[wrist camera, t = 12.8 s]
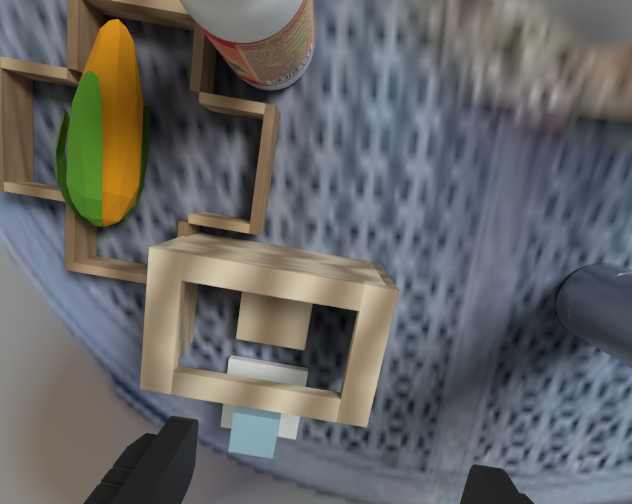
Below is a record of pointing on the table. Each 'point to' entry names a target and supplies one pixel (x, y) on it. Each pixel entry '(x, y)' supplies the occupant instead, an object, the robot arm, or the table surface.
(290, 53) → the fruit juice
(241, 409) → the block
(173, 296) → the frame
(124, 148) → the corn
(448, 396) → the table surface
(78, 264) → the corn rack
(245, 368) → the tile
